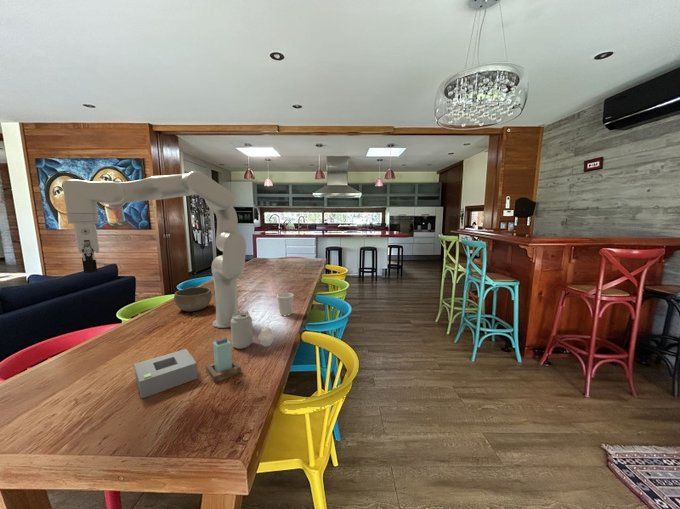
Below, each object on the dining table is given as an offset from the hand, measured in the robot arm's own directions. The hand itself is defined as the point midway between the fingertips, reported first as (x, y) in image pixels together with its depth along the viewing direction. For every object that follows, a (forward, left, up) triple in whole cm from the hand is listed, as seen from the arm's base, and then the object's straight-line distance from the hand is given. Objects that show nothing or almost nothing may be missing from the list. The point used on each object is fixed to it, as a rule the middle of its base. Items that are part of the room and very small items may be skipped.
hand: (90, 270), depth 91 cm
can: (-40, +25, -31) cm, 57 cm away
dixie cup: (-70, +7, -31) cm, 77 cm away
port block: (-14, +31, -31) cm, 46 cm away
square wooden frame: (-28, +39, -31) cm, 57 cm away
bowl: (-38, -33, -31) cm, 59 cm away
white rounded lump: (-47, +31, -31) cm, 65 cm away
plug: (-28, +39, -31) cm, 57 cm away
